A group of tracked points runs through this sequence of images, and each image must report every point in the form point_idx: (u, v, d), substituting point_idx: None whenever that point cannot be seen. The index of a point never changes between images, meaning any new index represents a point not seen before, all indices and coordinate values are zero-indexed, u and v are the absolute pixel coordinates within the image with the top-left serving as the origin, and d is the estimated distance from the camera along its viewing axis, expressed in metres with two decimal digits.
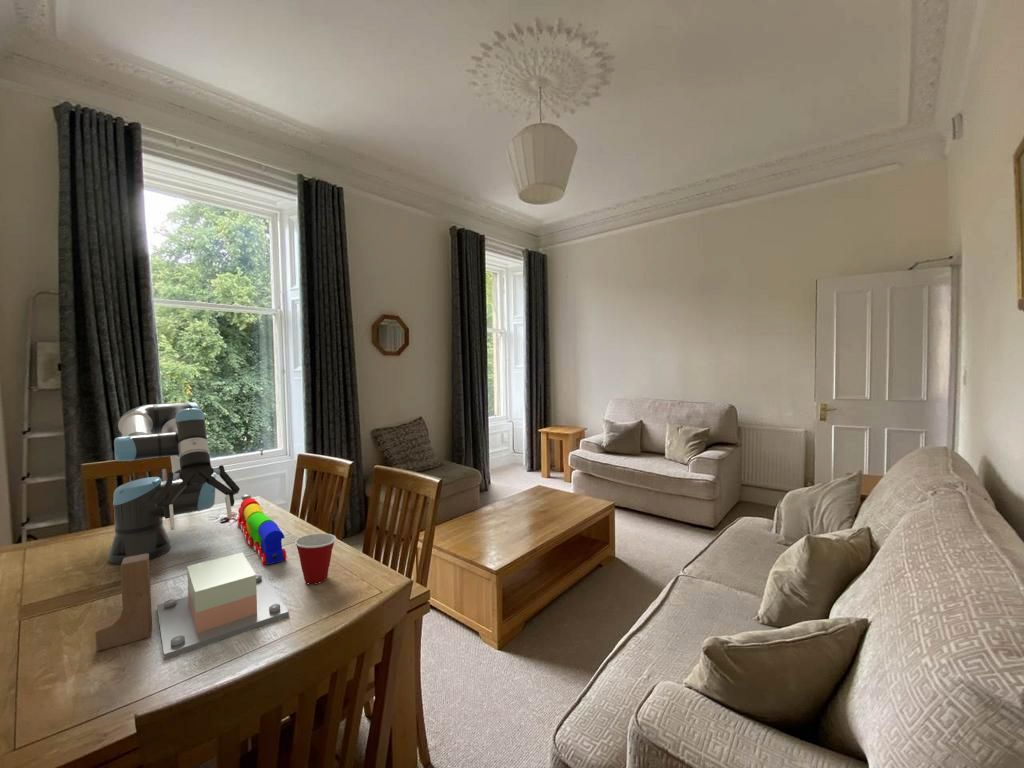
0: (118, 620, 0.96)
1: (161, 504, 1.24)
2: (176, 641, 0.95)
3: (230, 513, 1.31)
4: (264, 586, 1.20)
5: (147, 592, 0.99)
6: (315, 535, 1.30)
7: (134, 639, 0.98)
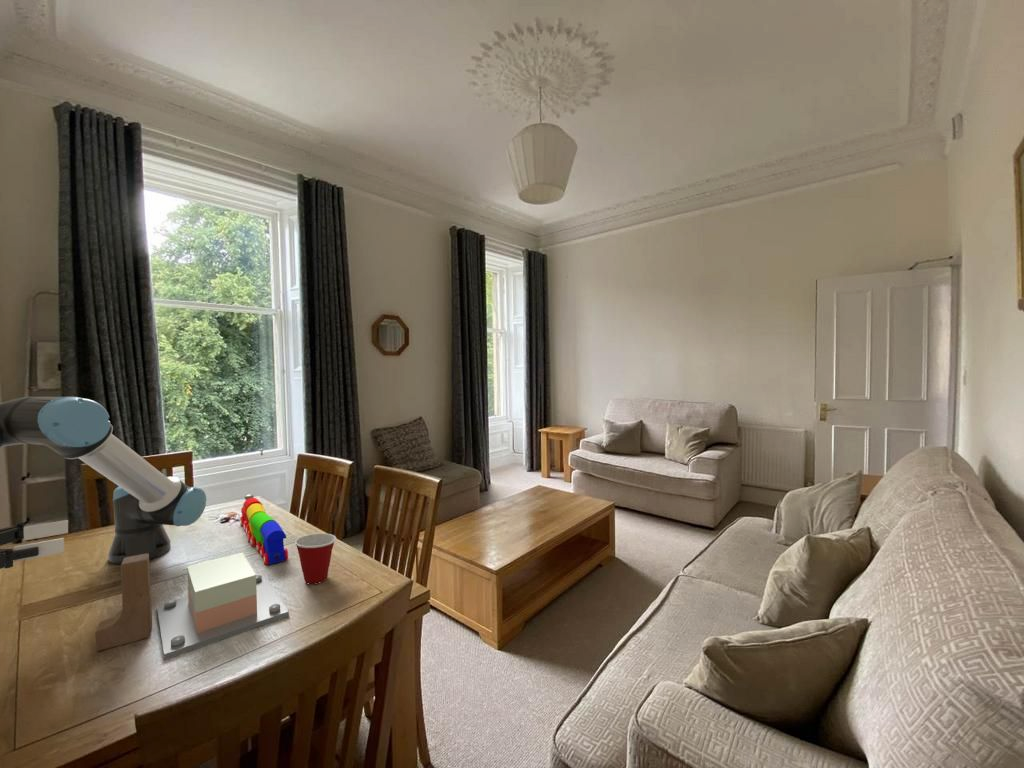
0: (118, 620, 0.96)
1: None
2: (176, 641, 0.95)
3: None
4: (264, 586, 1.20)
5: (147, 592, 0.99)
6: (315, 535, 1.30)
7: (134, 639, 0.98)
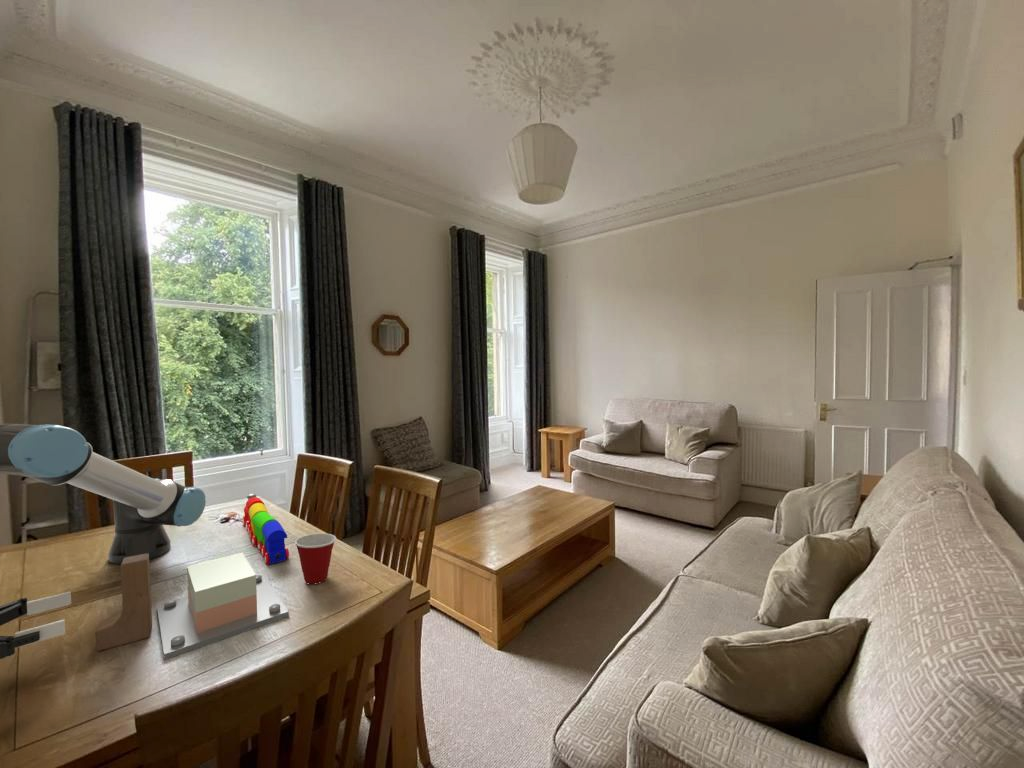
0: (118, 620, 0.96)
1: None
2: (176, 641, 0.95)
3: None
4: (264, 586, 1.20)
5: (147, 592, 0.99)
6: (315, 535, 1.30)
7: (134, 639, 0.98)
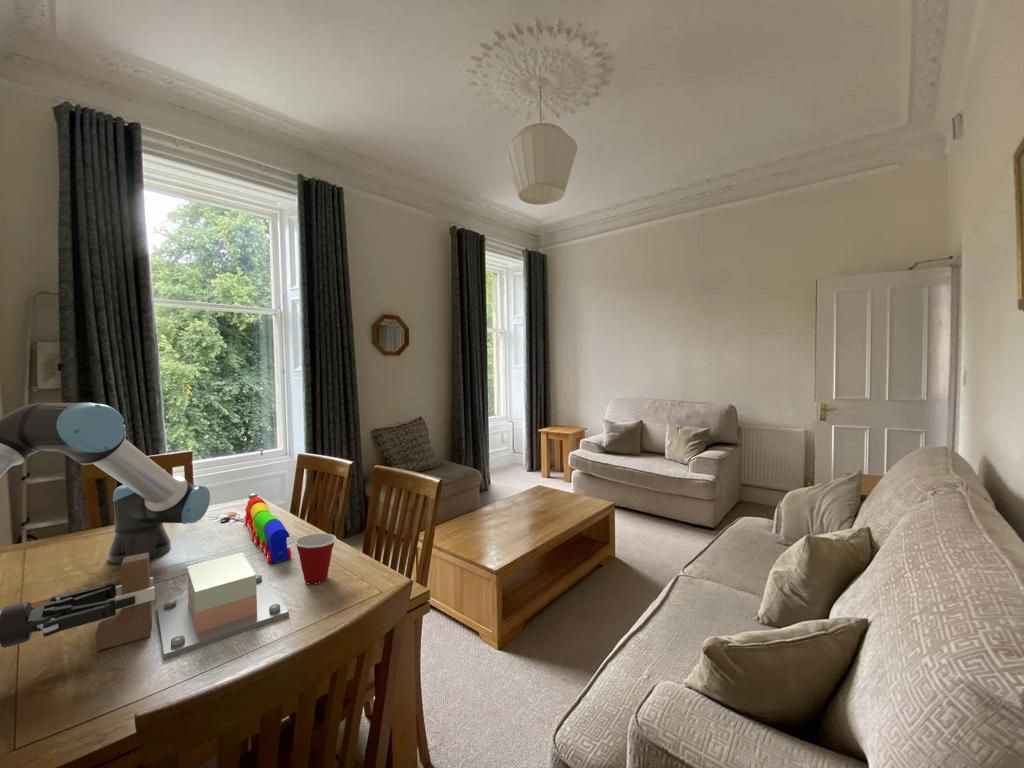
0: (118, 619, 0.97)
1: None
2: (176, 641, 0.95)
3: None
4: (264, 586, 1.20)
5: None
6: (315, 535, 1.30)
7: (134, 638, 0.98)
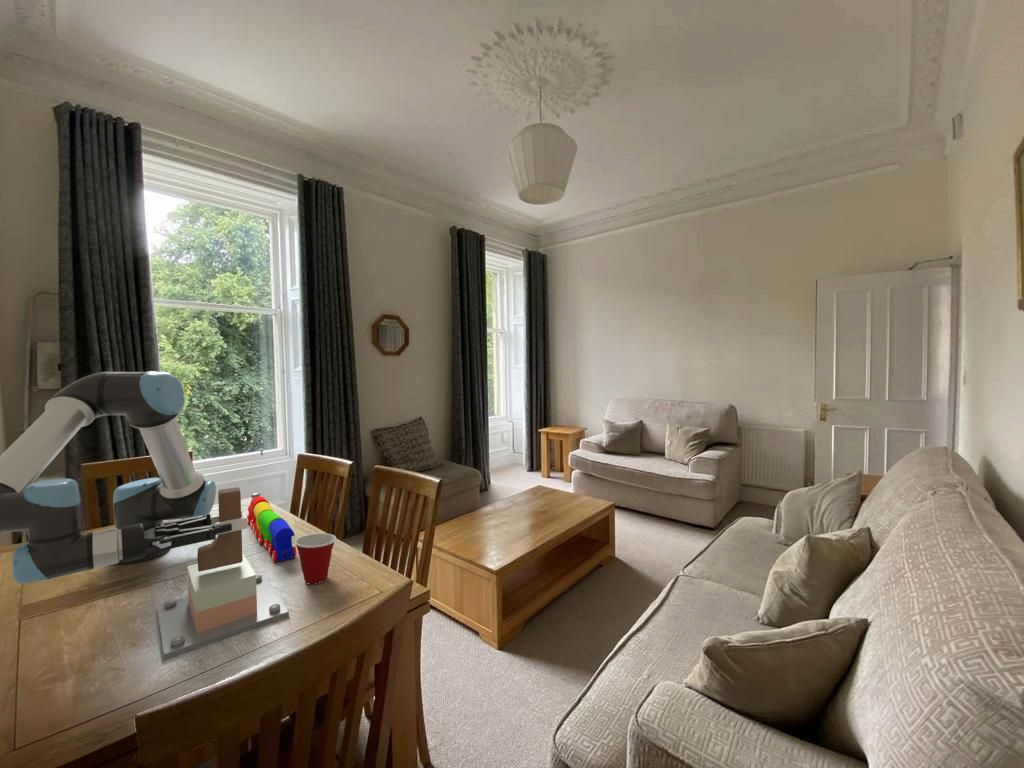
0: (216, 544, 1.06)
1: None
2: (176, 641, 0.95)
3: None
4: (264, 586, 1.20)
5: None
6: (315, 535, 1.30)
7: (229, 563, 1.08)
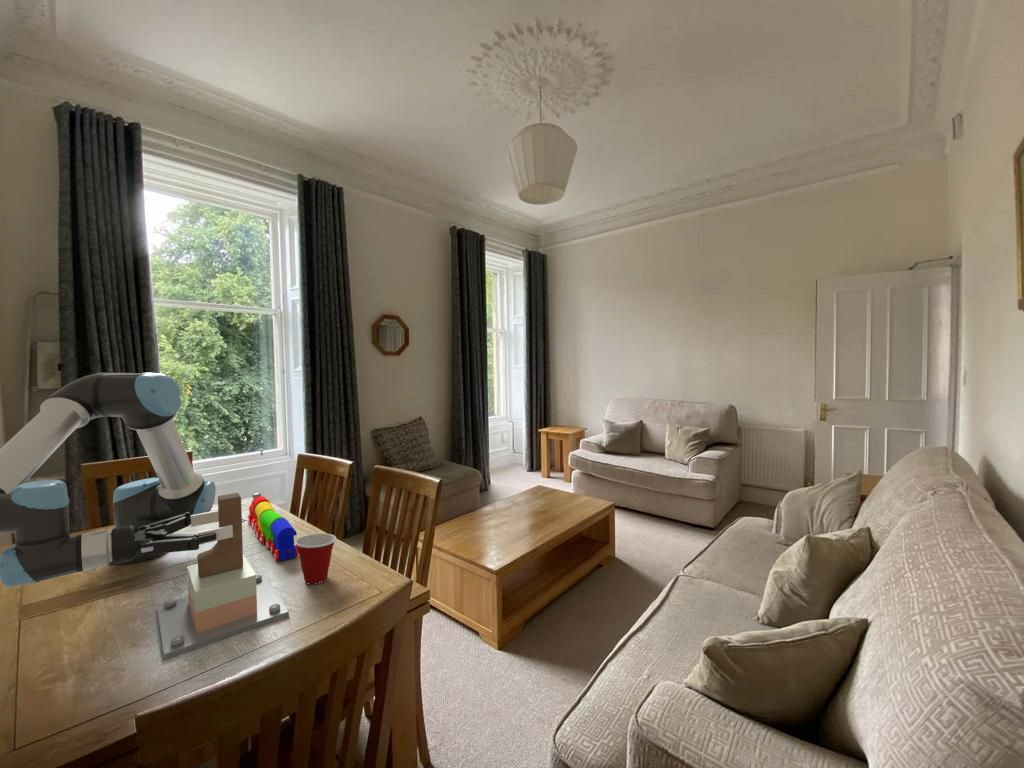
0: (217, 550, 1.07)
1: None
2: (176, 641, 0.95)
3: None
4: (264, 586, 1.20)
5: (241, 526, 1.09)
6: (315, 535, 1.30)
7: (230, 568, 1.08)
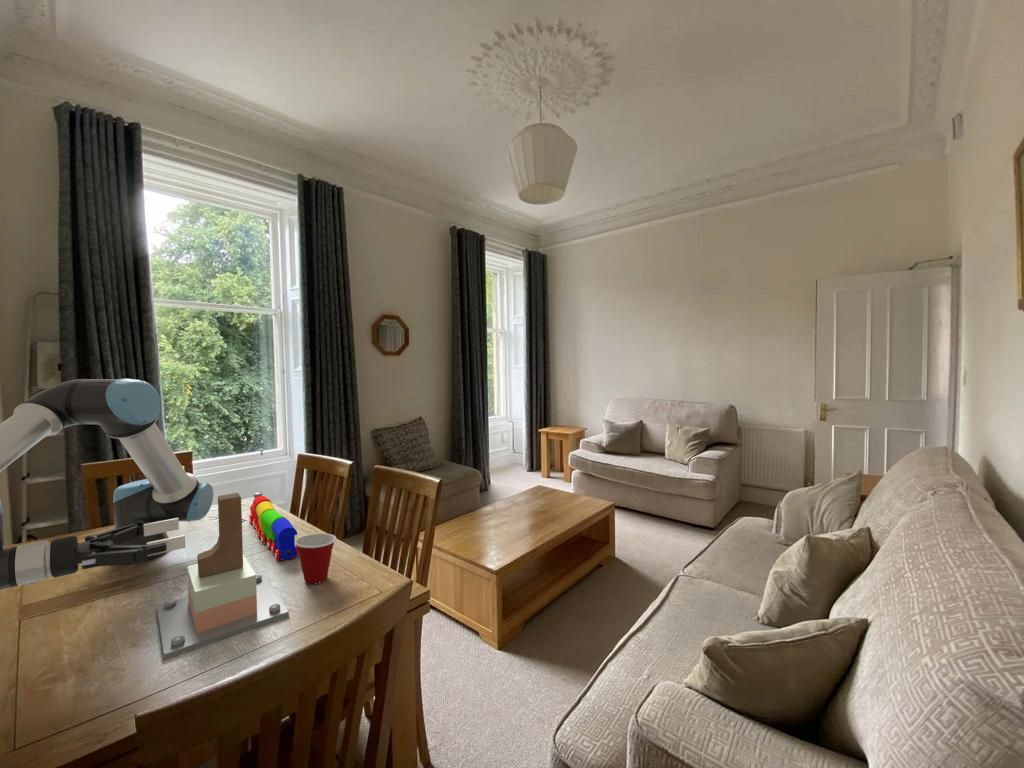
0: (217, 550, 1.07)
1: None
2: (176, 641, 0.95)
3: None
4: (264, 586, 1.20)
5: (241, 526, 1.09)
6: (315, 535, 1.30)
7: (230, 568, 1.08)
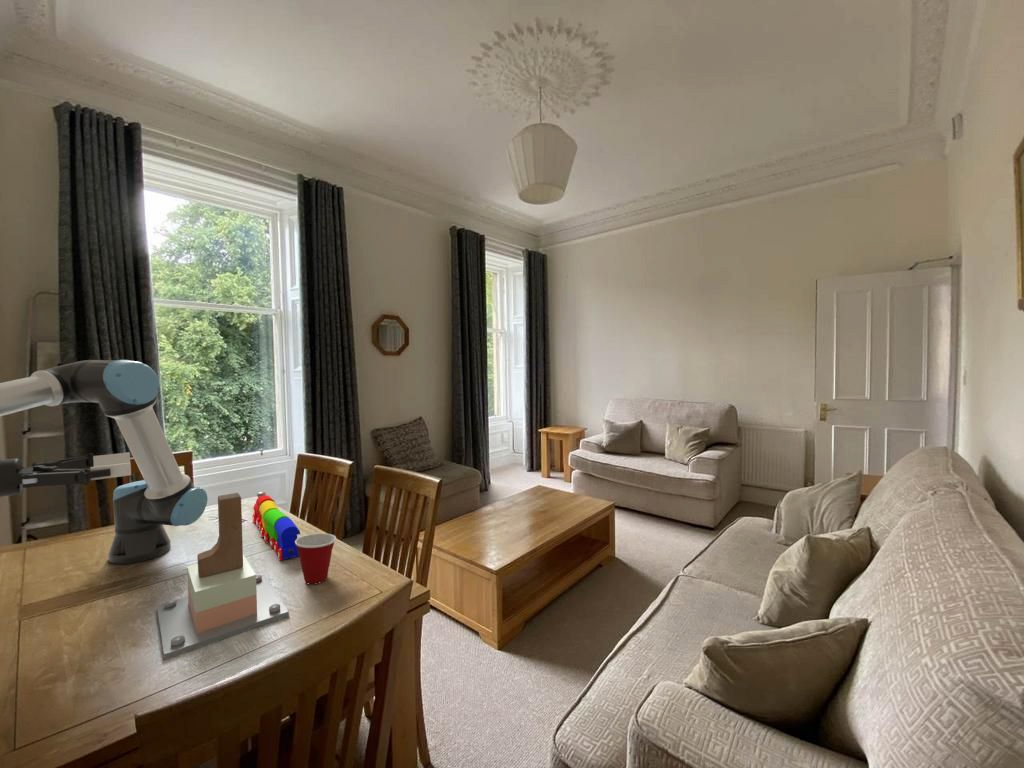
0: (217, 550, 1.07)
1: None
2: (176, 641, 0.95)
3: None
4: (264, 586, 1.20)
5: (241, 526, 1.09)
6: (315, 535, 1.30)
7: (230, 568, 1.08)
